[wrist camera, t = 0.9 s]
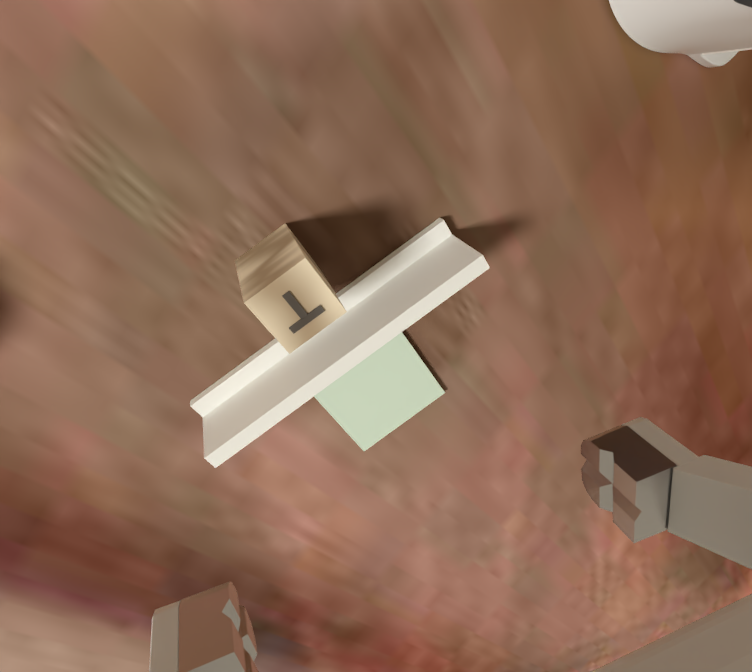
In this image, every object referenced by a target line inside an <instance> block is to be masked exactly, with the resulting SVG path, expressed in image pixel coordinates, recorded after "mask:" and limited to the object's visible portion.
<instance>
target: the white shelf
mask: <svg viewBox="0 0 752 672" xmlns="http://www.w3.org/2000/svg"><path fill="white" fill-rule="evenodd" d="M489 268H490V267H489V265H488V264H487V262H486V260H485V258H484V256H483V255H482V254H481V253H479V252H478V251H476V250H475V249H473V248H472V247H470V246H469V245H467V244H466V243H464V242H463V241H461V240H460V239H458V238H457V237H455V236H454V235H452V233H451V232H450V230H449V228H448V226H447V225H446V223H445V221H444V220H443V219H441V218H438V219H437V220H436V221H434V222H433V223H432V224H430V225H429V226H428V227H426V228H425V229H423V230H422V231H421V232H419V233H418V234H417V235H415V236H414V237H413V238H411V239H410V240H408V241H407V242H406V243H404V244H403V245H402V246H400V247H399V248H398V249H396V250H395V251H394V252H392V253H391V254H389V255H388V256H387V257H385V258H384V259H383V260H381V261H380V262H379V263H377V264H376V265H374V266H373V267H372V268H370V269H369V270H368V271H366V272H365V273H364V274H362V275H361V276H359V277H358V278H357V279H355V280H354V281H353V282H351V283H350V284H349V285H347V286H346V287H344V288H343V289H342V290H340V291H339V292H338V293H336V295H337V297H338V298H339V300H340V302H341V303H342V305H343V306H344V308H345V310H346V311H347V312H346V313H345V314H343V315H342V316H341V317H339V318H338V319H336V320H335V321H334V322H332V323H331V324H330V325H328V326H327V327H326V328H324V329H323V330H321V331H320V332H319V333H317V334H316V335H315V336H313V337H312V338H311V339H309V340H308V341H306V342H305V343H304V344H302V345H301V346H300V347H298V348H297V349H296V350H294V351H293V352H291V353H290V354H289V353H288V352H287V351H286V349H285V348H284V347H283V346H282V345H281V344H280V343H279V342H278V341H277V339H276V338H275V339H274V340H272V341H271V342H270V343H268V344H267V345H266V346H264V347H263V348H261V349H260V350H259V351H257V352H256V353H255V354H253V355H252V356H251V357H249V358H248V359H246V360H245V361H244V362H242V363H241V364H240V365H238V366H237V367H236V368H234V369H233V370H231V371H230V372H229V373H227V374H226V375H225V376H223V377H222V378H221V379H219V380H218V381H216V382H215V383H214V384H212V385H211V386H210V387H208V388H207V389H206V390H204V391H203V392H201V393H200V394H199V395H197V396H196V397H195V398H193V399H192V400H191V401H190V406H191V407H192V408H193V409H194V410H195V411H196V412H197V413H199V414H200V415H201V416H202V417H203V439H204V459H206V460H207V461H208V462H209V463H210V464H212V465H213V466H214V467H215V468H216V467H218V466H219V465H220V464H222V463H223V462H224V461H226V460H227V459H229V458H230V457H231V456H233V455H234V454H235V453H237V452H238V451H240V450H241V449H242V448H244V447H245V446H246V445H248V444H249V443H250V442H252V441H253V440H255V439H256V438H257V437H259V436H260V435H261V434H263V433H264V432H266V431H267V430H268V429H270V428H271V427H272V426H274V425H275V424H277V423H278V422H279V421H281V420H282V419H283V418H285V417H286V416H287V415H289V414H290V413H292V412H293V411H294V410H296V409H297V408H298V407H300V406H301V405H303V404H304V403H305V402H307V401H308V400H309V399H311V398H312V397H313V396H315V395H316V394H318V393H319V392H320V391H322V390H323V389H324V388H326V387H327V386H329V385H330V384H331V383H333V382H334V381H335V380H337V379H338V378H340V377H341V376H342V375H344V374H345V373H346V372H348V371H349V370H350V369H352V368H353V367H355V366H356V365H357V364H359V363H360V362H361V361H363V360H364V359H366V358H367V357H368V356H370V355H371V354H372V353H374V352H375V351H377V350H378V349H379V348H381V347H382V346H383V345H385V344H386V343H387V342H389V341H390V340H392V339H393V338H394V337H396V336H397V335H398V334H400V333H401V332H403V331H404V330H405V329H407V328H408V327H409V326H411V325H412V324H413V323H415V322H416V321H418V320H419V319H420V318H422V317H423V316H424V315H426V314H427V313H429V312H430V311H431V310H433V309H434V308H435V307H437V306H438V305H440V304H441V303H442V302H444V301H445V300H446V299H448V298H449V297H450V296H452V295H453V294H455V293H456V292H457V291H459V290H460V289H461V288H463V287H464V286H466V285H467V284H468V283H470V282H471V281H472V280H474V279H475V278H477V277H478V276H479V275H481V274H482V273H483V272H485V271H486V270H487V269H489Z"/></svg>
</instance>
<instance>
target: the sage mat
mask: <svg viewBox="0 0 752 672" xmlns="http://www.w3.org/2000/svg"><path fill="white" fill-rule="evenodd" d="M444 393H445V392H444V390H443V389H442V388H441V386H440V385H439V383H438V382H437V381H436V379H435V378H434V376H433V375H432V374H431V372H430V371H429V369H428V368H427V367H426V365H425V364H424V362H423V361H422V360H421V358H420V357H419V355H418V354H417V353H416V351H415V350H414V348H413V347H412V346H411V344H410V343H409V341H408V340H407V339H406V337H405V336H404V334H403V333H402V332H401V333H400V334H398V335H397V336H396V337H394V338H393V339H392V340H390V341H389V342H387V343H386V344H385V345H383V346H382V347H381V348H379V349H378V350H377V351H375V352H374V353H372V354H371V355H370V356H368V357H367V358H366V359H364V360H363V361H361V362H360V363H359V364H357V365H356V366H355V367H353V368H352V369H350V370H349V371H348V372H346V373H345V374H344V375H342V376H341V377H340V378H338V379H337V380H335V381H334V382H333V383H331V384H330V385H329V386H327V387H326V388H324V389H323V390H322V391H320V392H319V393H318V394H316V395H315V396H314V397H315V398H316V399H317V400H318V401H319V403H320V404H321V405H322V406H323V407H324V408H325V409H326V410H327V411H328V412H329V414H330V415H331V416H332V417H333V418H334V419H335V420H336V421H337V422H338V423H339V425H340V426H341V427H342V428H343V429H344V430H345V431H346V432H347V433H348V434H349V436H350V437H351V438H352V439H353V440H354V441H355V442H356V443H357V444H358V445H359V447H360V448H361V449H362V450H363V451H365V450H367V449H368V448H370V447H371V446H372V445H374V444H375V443H376V442H378V441H379V440H381V439H382V438H383V437H385V436H386V435H387V434H389V433H390V432H392V431H393V430H394V429H396V428H397V427H399V426H400V425H401V424H403V423H404V422H405V421H407V420H408V419H410V418H411V417H412V416H414V415H415V414H416V413H418V412H419V411H421V410H422V409H423V408H425V407H426V406H427V405H429V404H430V403H432V402H433V401H434V400H436V399H437V398H438V397H440V396H441V395H443V394H444Z"/></svg>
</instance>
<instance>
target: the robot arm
mask: <svg viewBox="0 0 752 672" xmlns="http://www.w3.org/2000/svg"><path fill="white" fill-rule="evenodd" d="M609 3H610V6H611V8H612V11H613V13H614V15H615V17H616V19H617V21H618V22H619V24H620V26H621V27H622V28H623V30H624V31H625V32H626V33H627V34H628V36H629V37H631V38H632V39H633V40H634V41H635V42H637V43H638V44H639V45H641V46H643V47H645V48H647V49H649V50H652V51H656V52H661V53H681V54H686V55H688V56H689V57H691V58H692V59H693V60H695V61H696V62H697V63H699V64H701V65H702V66H705V67H718V66H723V65H725V64H726V63H727V62H729V61H730V60H731V59H732V58H733V57H734V56H735V55H736V54H737V53H738V52H739V51H743V50H752V0H609ZM581 454H582V455H583V456H584V457H585V458H586V459H587V460H586V462H585V464H584V465H583V467H582V469H581V470H582V481H583V483H584V486H585V488H586V491H587V493H588V494H589V496H590V497H591V499H592V500H593V501H594V502H595V503H596V504H597V505H598V507H599V508H602V509H605V510H608V511H611V512H612V515H613V522H614V523H615V524H616V525H617V526H618V527H619V528H620V529H621V530H622V531H623V532H624V534H625V535H626V536H627V537H628V538H629V539H630V540H631V541H632V542H633V543H636V542H638V541H640V540H643V539H645V538H648V537H650V536H653V535H655V534H658V533H660V532H662V531H665V530H667V529H668V532H670V533H672V534H674V535H677V536H679V537H681V538H683V539H686V540H688V541H690V542H692V543H695V544H697V545H699V546H701V547H703V548H706V549H708V550H710V551H712V552H715V553H717V554H719V555H721V556H723V557H726V558H728V559H730V560H732V561H735V562H737V563H739V564H741V565H743V566H746V567H748V568H750V569H752V467H750V466H746V465H742V464H738V463H734V462H730V461H726V460H722V459H718V458H714V457H711V456H707V455H703V456H700V457H698V456H697V455H695V454H694V453H693V452H691V451H690V450H688V449H687V448H686V447H684V446H683V445H682V444H680V443H679V442H678V441H676V440H675V439H673V438H672V437H671V436H669V435H668V434H667V433H665V432H664V431H663V430H661V429H660V428H659V427H657V426H656V425H654V424H653V423H652V422H650V421H649V420H648V419H646V418H642V417H640V418H637V419H635V420H632V421H630V422H627V423H625V424H622V425H621V426H617V427H615V428H612V429H610V430H607V431H605V432H602V433H600V434H598V435H595V436H593V437H590V438H588V439H585V440H583V442H582V445H581ZM256 655H257V648H256V642H255V637H254V633H253V628H252V624H251V622H250V619H249V616H248V614H247V611H246V609H245V607H244V606H241V605H239V603H238V594H237V591H236V589H235V587H234V585H233V584H232V582H228V583H225V584H222V585H219V586H217V587H214V588H211V589H209V590H206V591H203V592H201V593H198V594H195V595H192V596H190V597H187V598H184V599H182V600H180V601H177V602H175V603H172V604H169V605H167V606H164V607H161V608H159V609H156V610H155V612H154V615H153V617H152V629H151V647H150V665H149V672H258V670H257V668H256V666H255V664H254V659H255V657H256ZM592 672H752V594H750V595H748V596H746V597H744V598H742V599H740V600H738V601H736V602H734V603H732V604H730V605H728V606H725V607H723V608H721V609H719V610H717V611H715V612H713V613H711V614H709V615H707V616H705V617H703V618H701V619H699V620H697V621H695V622H693V623H691V624H688V625H686V626H684V627H682V628H680V629H678V630H676V631H674V632H672V633H670V634H668V635H666V636H664V637H662V638H660V639H658V640H656V641H654V642H651V643H649V644H647V645H645V646H643V647H641V648H639V649H637V650H635V651H633V652H631V653H629V654H627V655H625V656H623V657H621V658H619V659H616V660H614V661H612V662H610V663H608V664H606V665H604V666H602V667H600V668H598V669H596V670H594V671H592Z"/></svg>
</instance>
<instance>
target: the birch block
mask: <svg viewBox="0 0 752 672" xmlns="http://www.w3.org/2000/svg"><path fill="white" fill-rule="evenodd" d="M235 265H236V269H237V274H238V278H239V282H240V287H241V291H242V296H243V300H244V303H245V305H246V306H247V307H248V308H249V309H250V310H251V311H252V312H253V314H254V315H255V316H256V317H257V318H258V319H259V320H260V321H261V323H262V324H263V325H264V326H265V327H266V328H267V329H268V330H269V332H270V333H271V334H272V335H273V336H274V337H275V338H276V339H277V341H278V342H279V343H280V344H281V345H282V346H283V347H284V348H285V349H286V351H287V352H288V353H289V354H290V353H291V352H293V351H294V350H296V349H297V348H298V347H300V346H301V345H302V344H304V343H305V342H306V341H308V340H309V339H311V338H312V337H313V336H315V335H316V334H317V333H319V332H320V331H321V330H323V329H324V328H326V327H327V326H328V325H330V324H331V323H332V322H334V321H335V320H336V319H338V318H339V317H341V316H342V315H343V314H345V313H346V312H347V311H346V310H345V308H344V306H343V305H342V303H341V302H340V300H339V298H338V297H337V295H336V294H335V292H334V290H333V289H332V287H331V286H330V284H329V282H328V281H327V279H326V278H325V276H324V274H323V273H322V271H321V270H320V268H319V267H318V266H317V264H316V263H315V262H314V260H313V259H312V258H311V256H310V255H309V254H308V253H307V251H306V250H305V249H304V247H303V246H302V245H301V243H300V242H299V241H298V239H297V238H296V237H295V235H294V234H293V233H292V231H291V230H290V229H289V227H288V226H287V225H286V224H284V225H282V226H281V227H280V228H278V229H277V230H276V231H274V232H273V233H272V234H270V235H269V236H268V237H266V238H265V239H263V240H262V241H261V242H259V243H258V244H257V245H255V246H254V247H253V248H251V249H250V250H249V251H247V252H246V253H245V254H243V255H242V256H240V257H239V258H238V259H236V260H235Z"/></svg>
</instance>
